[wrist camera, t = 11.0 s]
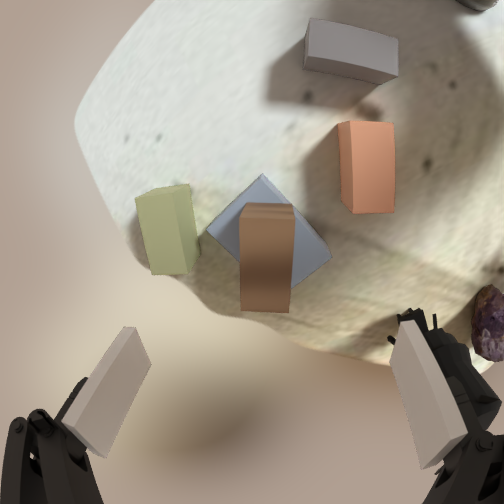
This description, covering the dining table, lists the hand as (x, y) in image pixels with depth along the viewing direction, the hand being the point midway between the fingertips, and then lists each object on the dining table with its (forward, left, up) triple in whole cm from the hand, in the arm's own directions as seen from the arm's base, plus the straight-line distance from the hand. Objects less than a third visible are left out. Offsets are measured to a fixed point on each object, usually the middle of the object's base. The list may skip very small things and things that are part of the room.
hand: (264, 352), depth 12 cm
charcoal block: (-18, +9, -18) cm, 27 cm away
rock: (+15, +33, -18) cm, 41 cm away
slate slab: (0, 0, -18) cm, 18 cm away
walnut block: (0, 0, -14) cm, 14 cm away
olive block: (-2, -10, -18) cm, 21 cm away
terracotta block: (-7, +9, -18) cm, 21 cm away
